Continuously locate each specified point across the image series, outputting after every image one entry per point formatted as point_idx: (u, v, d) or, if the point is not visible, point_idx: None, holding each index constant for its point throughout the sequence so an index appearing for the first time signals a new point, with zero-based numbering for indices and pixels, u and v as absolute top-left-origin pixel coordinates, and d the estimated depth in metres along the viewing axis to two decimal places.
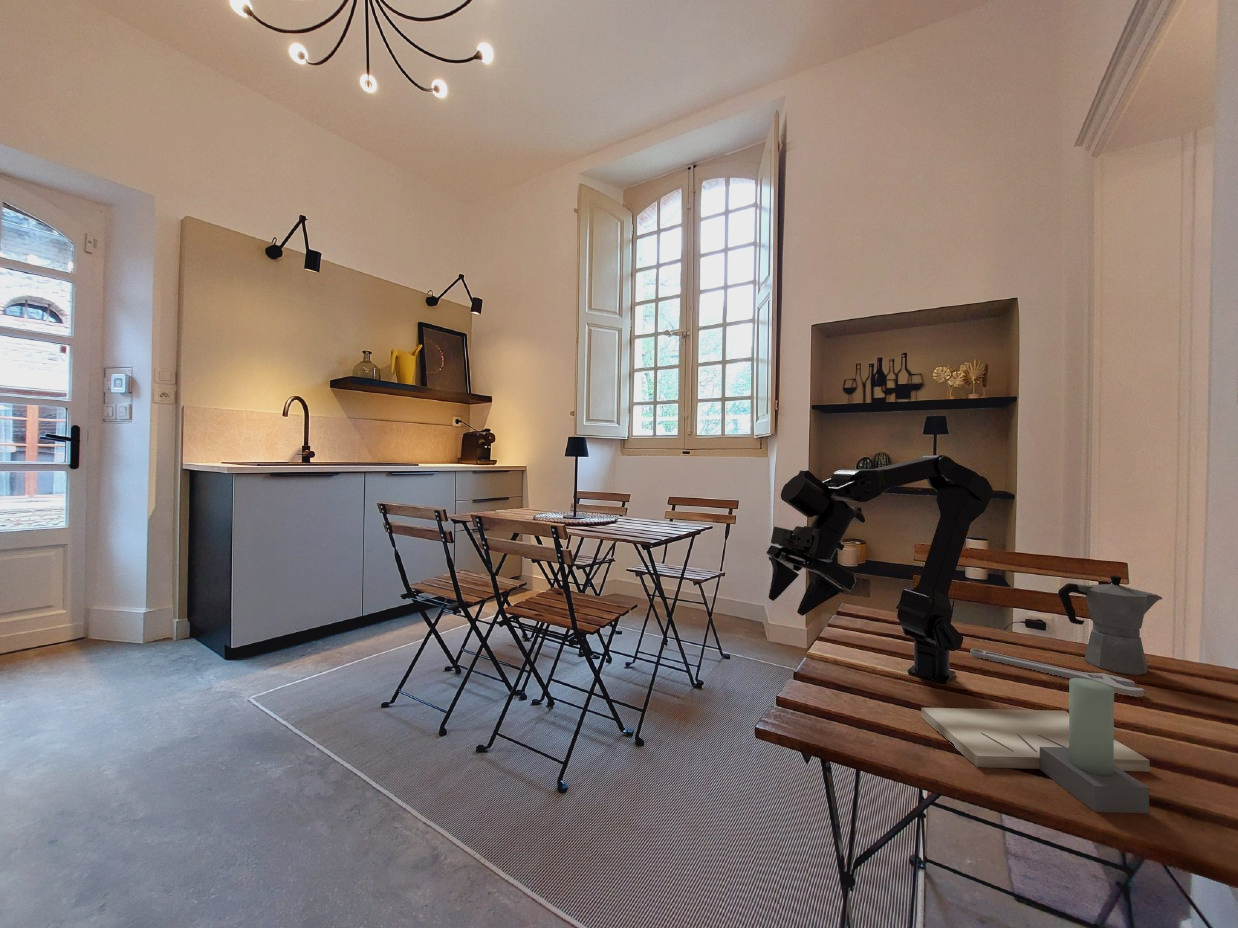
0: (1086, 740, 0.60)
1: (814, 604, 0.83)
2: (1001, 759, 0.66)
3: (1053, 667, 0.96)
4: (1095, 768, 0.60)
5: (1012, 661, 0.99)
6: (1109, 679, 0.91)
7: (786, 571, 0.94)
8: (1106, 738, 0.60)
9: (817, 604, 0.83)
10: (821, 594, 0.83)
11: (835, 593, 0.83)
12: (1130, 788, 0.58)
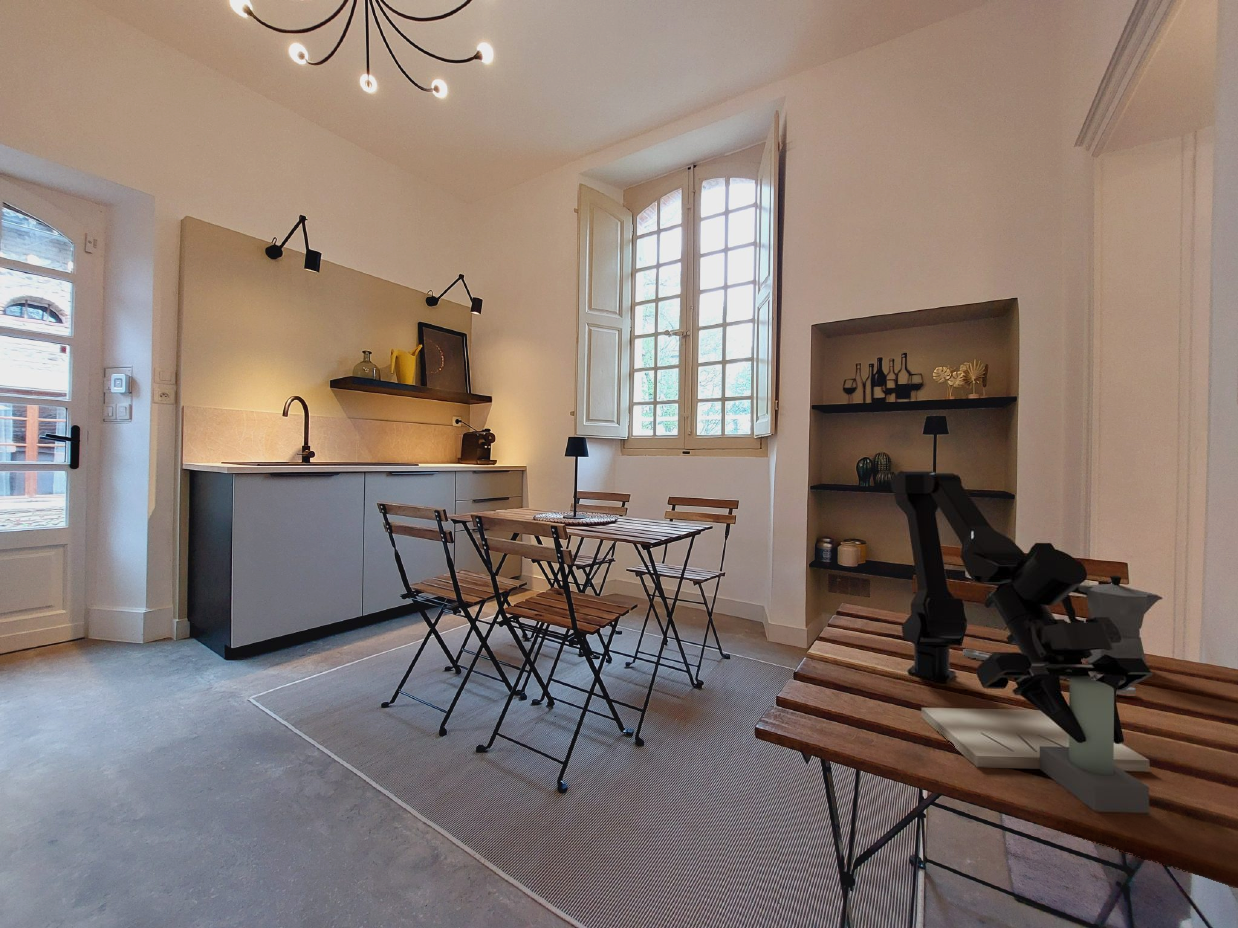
0: (1086, 740, 0.60)
1: None
2: (1001, 759, 0.66)
3: None
4: (1095, 768, 0.60)
5: None
6: None
7: None
8: (1106, 738, 0.60)
9: None
10: None
11: None
12: (1130, 787, 0.58)
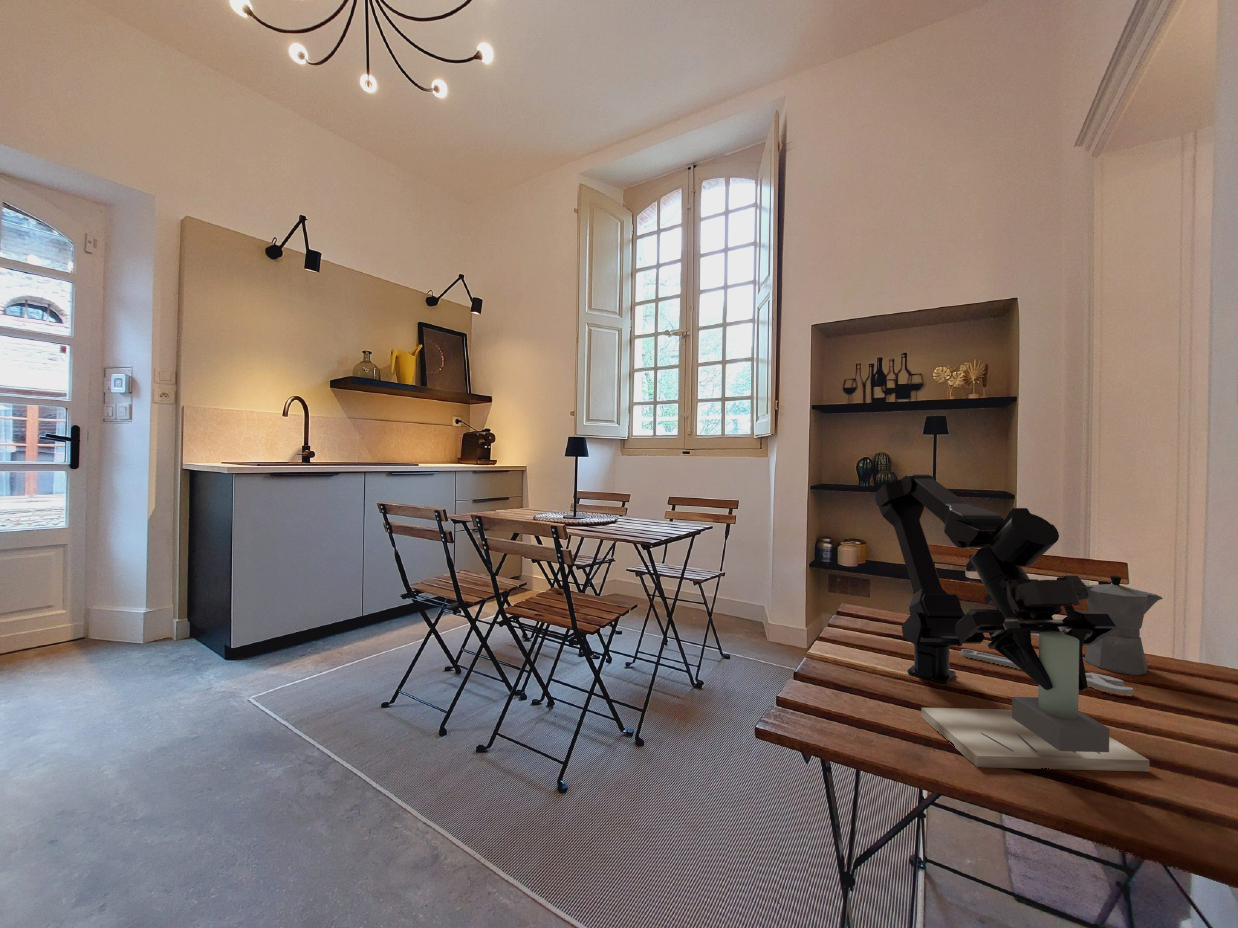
0: (1053, 687, 0.65)
1: None
2: (1001, 759, 0.66)
3: None
4: (1061, 712, 0.65)
5: (1003, 661, 0.99)
6: (1099, 678, 0.91)
7: None
8: (1071, 685, 0.64)
9: None
10: None
11: None
12: (1092, 728, 0.62)
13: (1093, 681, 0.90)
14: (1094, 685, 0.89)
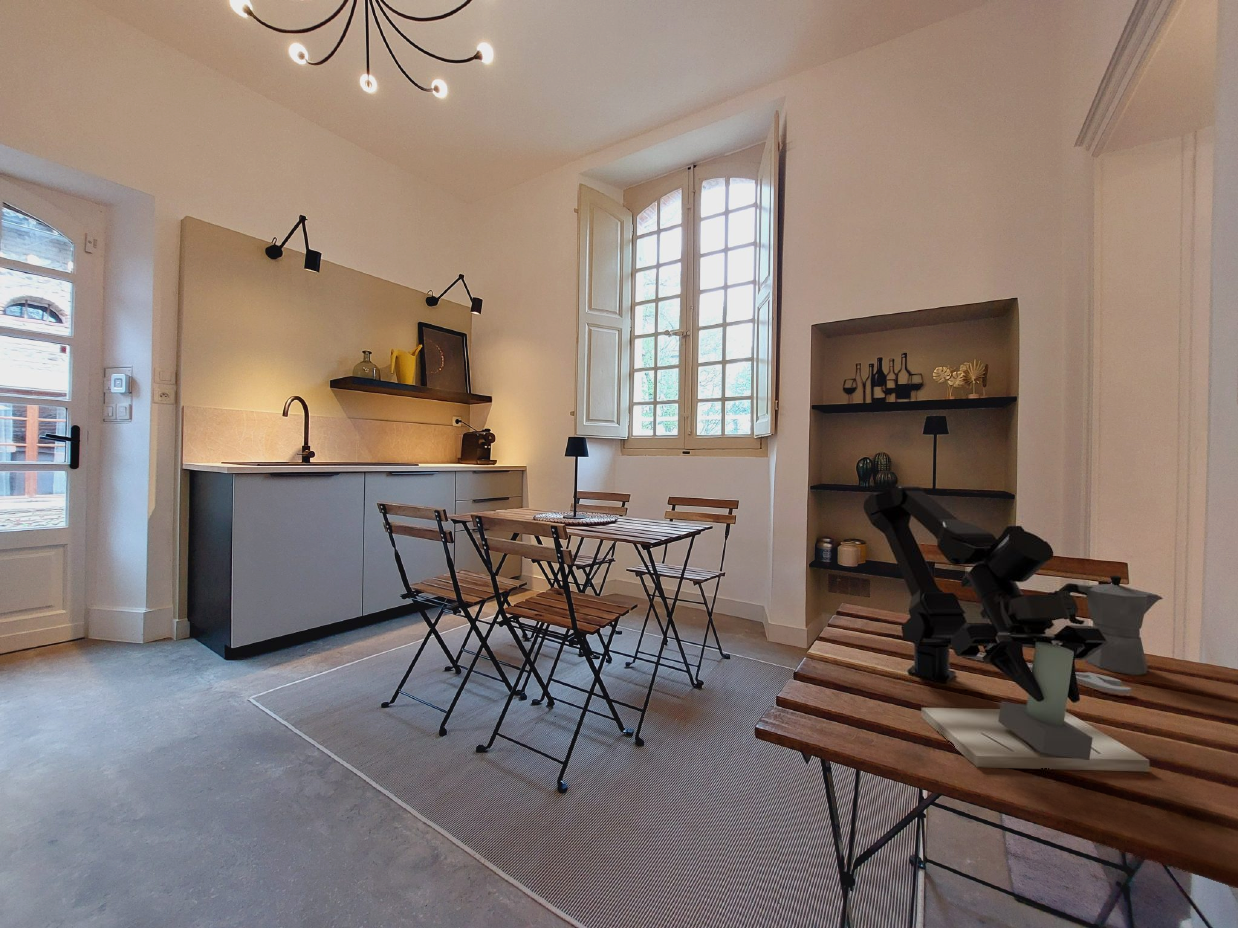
0: (1043, 694, 0.68)
1: None
2: (1001, 759, 0.66)
3: None
4: (1048, 718, 0.68)
5: None
6: (1096, 678, 0.91)
7: None
8: (1061, 693, 0.67)
9: None
10: None
11: None
12: (1076, 735, 0.65)
13: (1091, 681, 0.90)
14: (1092, 685, 0.89)
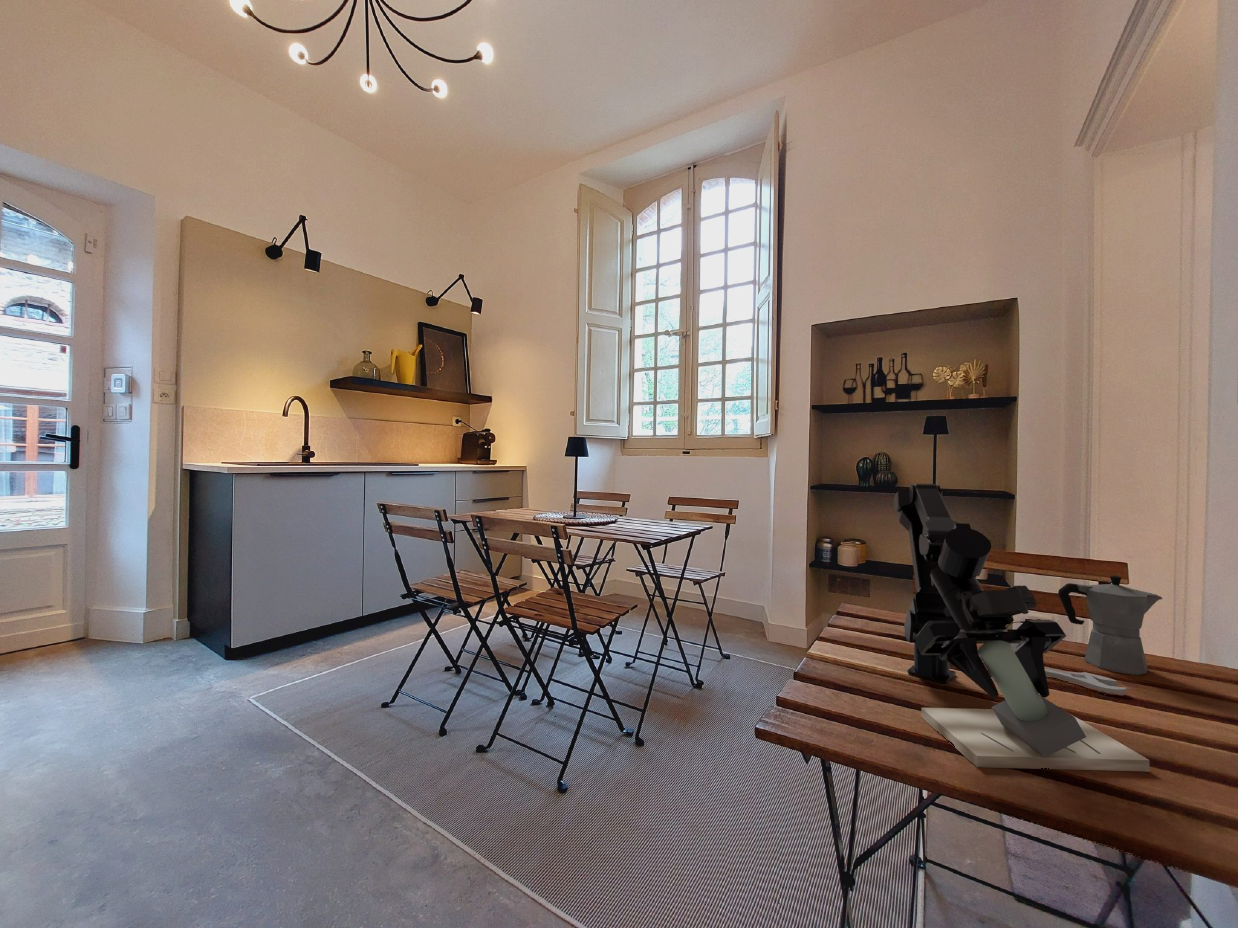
0: (1012, 697, 0.68)
1: None
2: (1001, 759, 0.66)
3: None
4: (1030, 717, 0.68)
5: None
6: (1092, 678, 0.91)
7: None
8: (1025, 690, 0.68)
9: None
10: None
11: None
12: (1060, 725, 0.65)
13: (1086, 681, 0.90)
14: (1087, 685, 0.89)
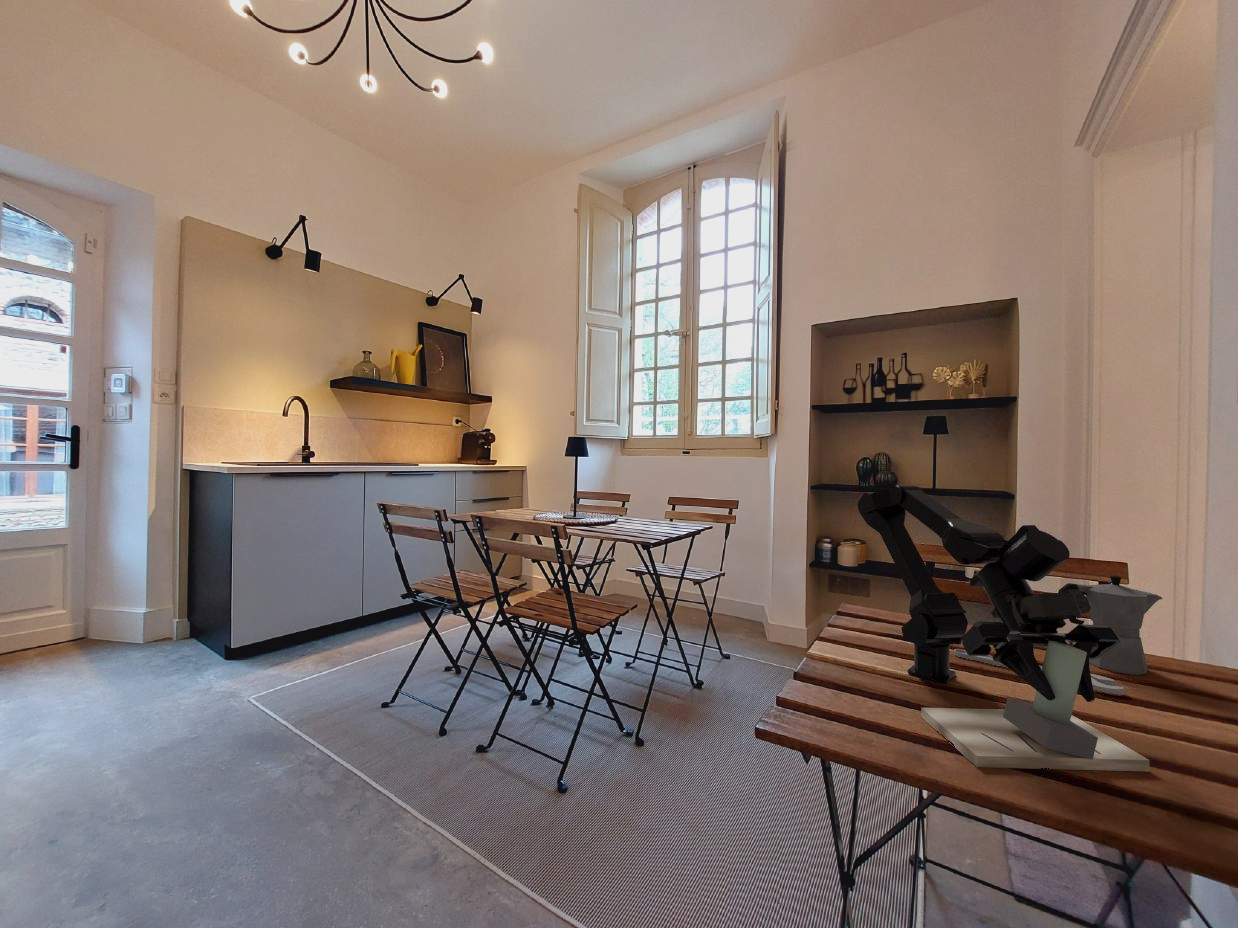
0: None
1: None
2: (1001, 759, 0.66)
3: None
4: (1054, 715, 0.68)
5: (995, 661, 0.99)
6: None
7: None
8: (1070, 692, 0.67)
9: None
10: None
11: None
12: (1081, 734, 0.65)
13: None
14: None
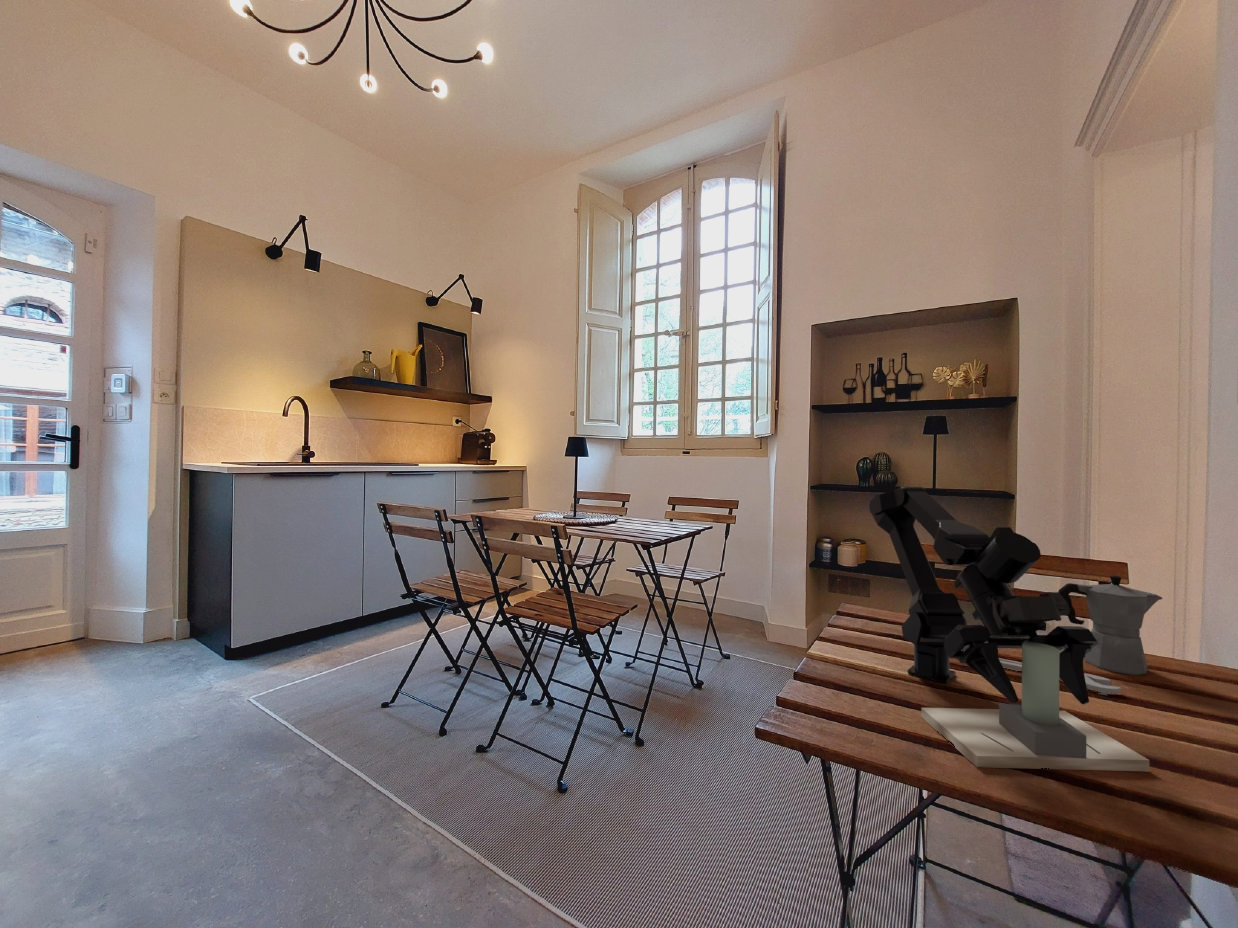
0: (1033, 695, 0.69)
1: None
2: (1001, 759, 0.66)
3: None
4: (1040, 719, 0.68)
5: None
6: (1087, 678, 0.91)
7: None
8: (1050, 693, 0.68)
9: None
10: None
11: None
12: (1068, 735, 0.66)
13: None
14: None
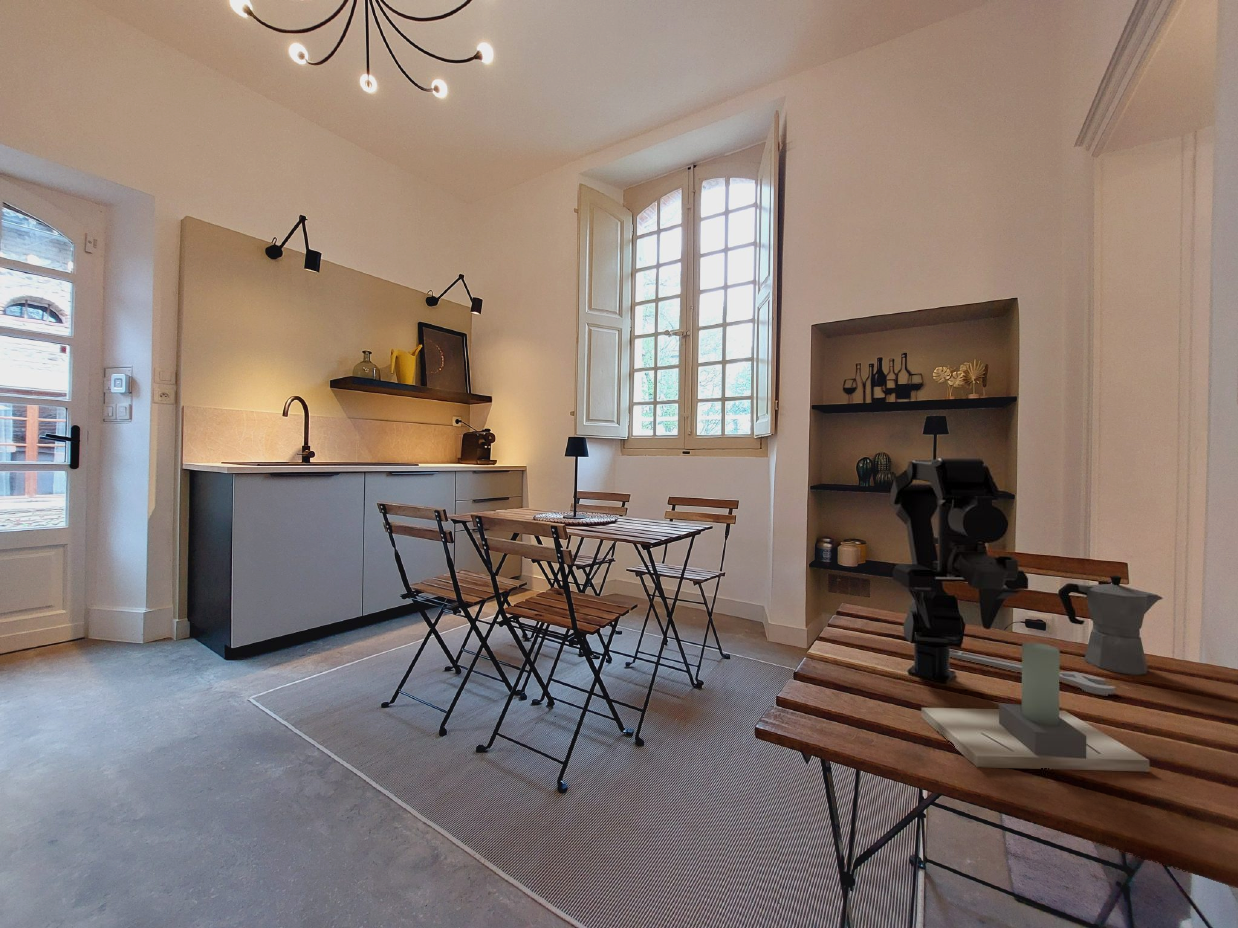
0: (1033, 695, 0.69)
1: None
2: (1001, 759, 0.66)
3: None
4: (1040, 719, 0.68)
5: (987, 661, 0.99)
6: (1081, 678, 0.91)
7: None
8: (1050, 693, 0.68)
9: None
10: None
11: None
12: (1068, 735, 0.66)
13: (1076, 680, 0.90)
14: (1077, 684, 0.89)
